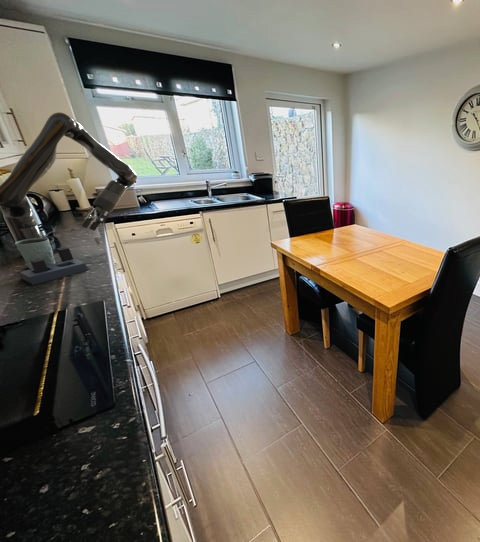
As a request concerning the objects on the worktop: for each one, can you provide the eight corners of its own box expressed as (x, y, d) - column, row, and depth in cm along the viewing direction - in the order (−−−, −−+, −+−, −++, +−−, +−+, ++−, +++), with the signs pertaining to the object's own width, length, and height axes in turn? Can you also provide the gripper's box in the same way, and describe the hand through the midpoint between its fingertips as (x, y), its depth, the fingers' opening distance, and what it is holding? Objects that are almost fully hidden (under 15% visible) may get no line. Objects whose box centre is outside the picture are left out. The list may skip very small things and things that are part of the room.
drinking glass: (21, 268, 127) (8, 242, 122) (48, 260, 136) (38, 236, 131) (37, 270, 124) (25, 245, 120) (64, 262, 133) (54, 238, 129)
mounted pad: (38, 278, 118) (29, 260, 115) (48, 275, 120) (39, 258, 117) (42, 280, 116) (33, 262, 113) (52, 277, 119) (43, 260, 116)
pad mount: (23, 279, 116) (19, 271, 115) (77, 265, 131) (74, 258, 129) (33, 285, 112) (29, 277, 111) (88, 270, 127) (85, 262, 125)
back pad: (63, 264, 131) (56, 248, 128) (71, 262, 134) (65, 246, 131) (67, 266, 130) (60, 250, 126) (75, 264, 132) (68, 248, 129)
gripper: (122, 206, 139) (103, 234, 135) (109, 203, 145) (90, 230, 141) (105, 197, 132) (84, 226, 128) (92, 194, 139) (71, 222, 134)
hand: (87, 228), depth 134 cm, fingers open, 8 cm apart
